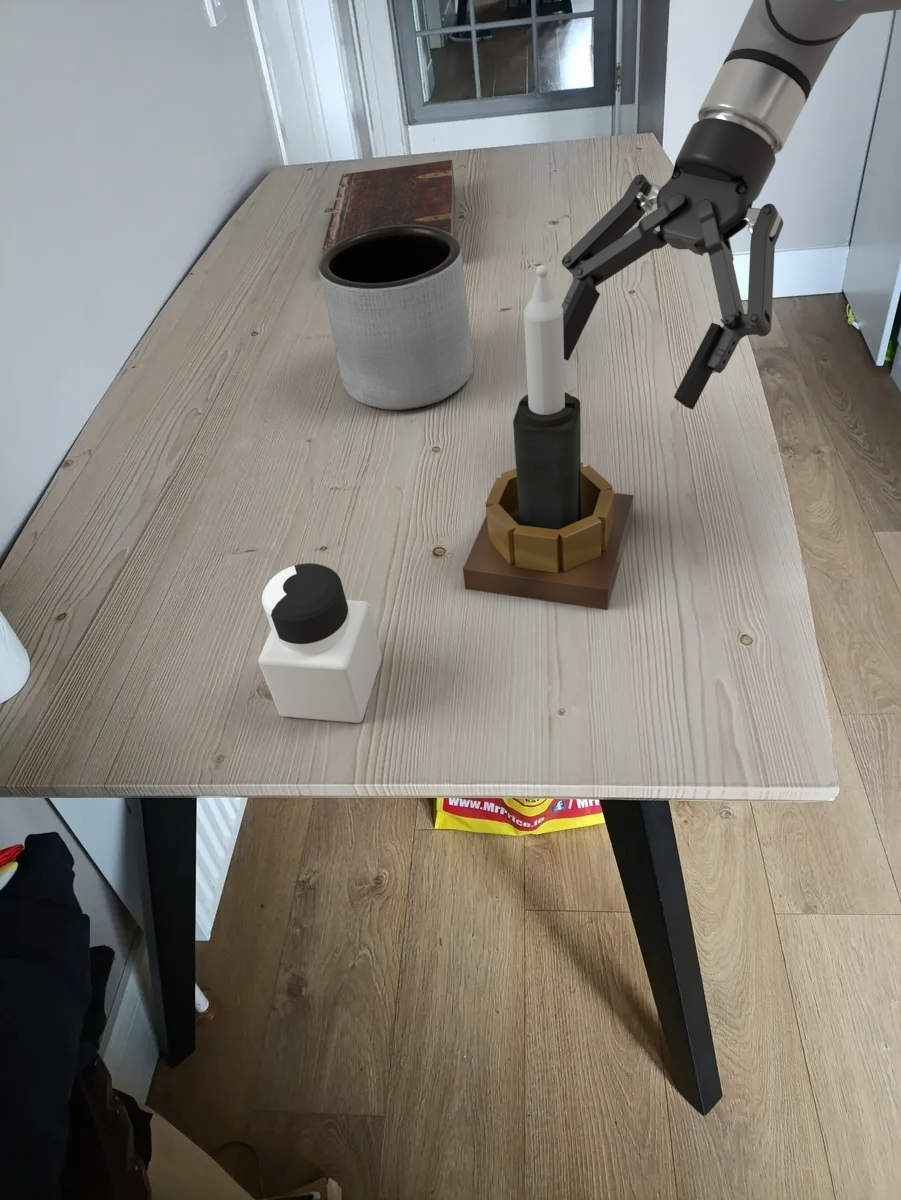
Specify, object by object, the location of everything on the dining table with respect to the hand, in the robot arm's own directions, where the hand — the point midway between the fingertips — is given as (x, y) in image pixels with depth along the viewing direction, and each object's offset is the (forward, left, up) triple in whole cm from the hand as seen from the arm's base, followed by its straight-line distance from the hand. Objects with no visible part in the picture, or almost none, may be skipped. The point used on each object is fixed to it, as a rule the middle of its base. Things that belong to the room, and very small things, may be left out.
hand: (617, 378), depth 77 cm
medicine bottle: (+18, +28, -14) cm, 36 cm away
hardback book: (+45, -60, -14) cm, 76 cm away
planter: (+28, -19, -14) cm, 37 cm away
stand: (+4, +8, -14) cm, 17 cm away
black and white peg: (+4, +8, -11) cm, 15 cm away
